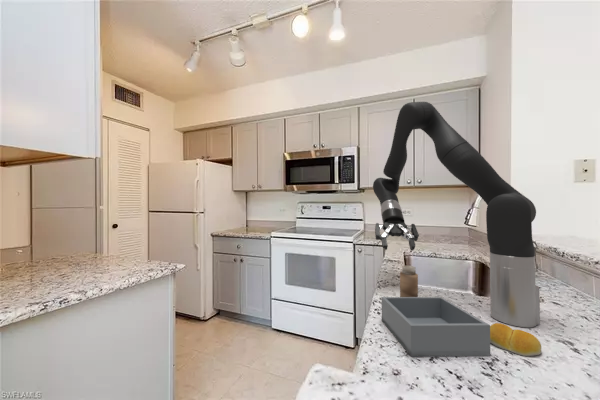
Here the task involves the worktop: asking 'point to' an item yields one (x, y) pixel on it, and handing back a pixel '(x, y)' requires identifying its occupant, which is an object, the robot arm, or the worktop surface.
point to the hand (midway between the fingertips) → (399, 248)
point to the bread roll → (514, 340)
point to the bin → (435, 327)
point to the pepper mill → (408, 282)
